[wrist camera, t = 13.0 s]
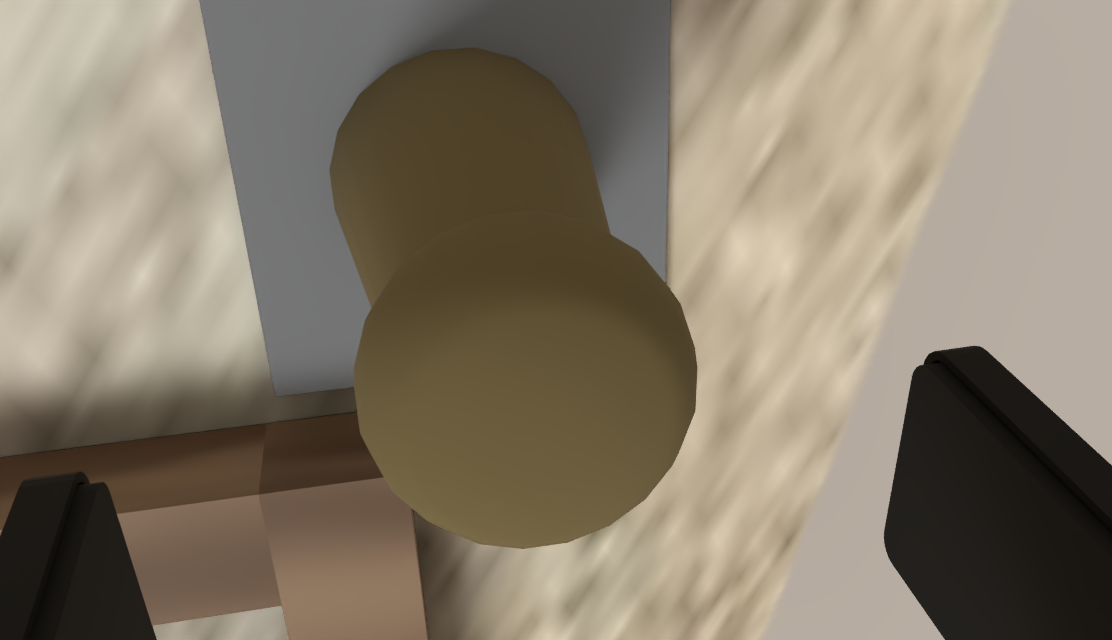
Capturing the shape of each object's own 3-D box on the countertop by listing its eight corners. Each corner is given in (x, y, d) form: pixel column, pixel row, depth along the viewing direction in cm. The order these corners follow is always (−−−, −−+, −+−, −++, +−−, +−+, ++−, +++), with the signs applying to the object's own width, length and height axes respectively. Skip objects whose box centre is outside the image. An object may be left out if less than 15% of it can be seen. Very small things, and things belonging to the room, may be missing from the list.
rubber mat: (197, -25, 21) (195, -22, 21) (666, -55, 23) (671, -53, 22) (276, 388, 26) (275, 396, 25) (660, 341, 27) (663, 348, 27)
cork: (474, 339, 26) (554, 669, 16) (274, 195, 23) (227, 486, 13) (641, 163, 24) (837, 407, 15) (449, -13, 22) (536, 147, 12)
